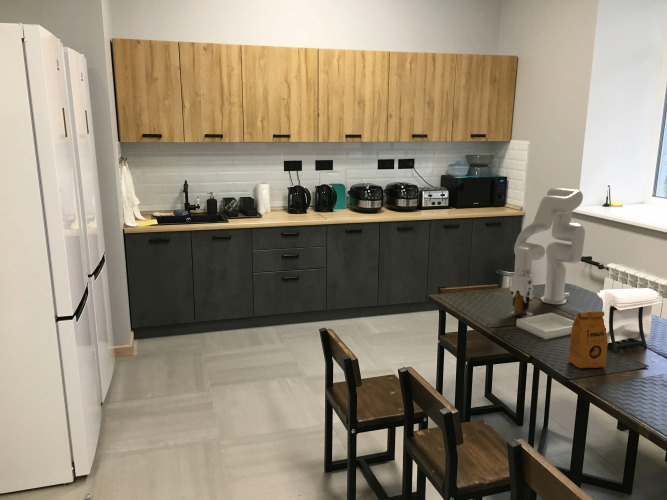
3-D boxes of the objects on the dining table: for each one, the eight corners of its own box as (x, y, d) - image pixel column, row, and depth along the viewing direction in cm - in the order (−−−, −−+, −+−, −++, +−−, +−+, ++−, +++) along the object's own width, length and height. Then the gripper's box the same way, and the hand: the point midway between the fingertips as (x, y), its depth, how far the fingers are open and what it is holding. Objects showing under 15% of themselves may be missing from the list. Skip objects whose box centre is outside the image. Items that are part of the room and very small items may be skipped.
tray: (551, 319, 273) (552, 312, 272) (582, 331, 257) (582, 324, 257) (516, 326, 264) (516, 319, 263) (545, 339, 248) (546, 331, 247)
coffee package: (608, 370, 217) (615, 315, 213) (577, 371, 216) (583, 316, 212) (595, 359, 227) (600, 307, 222) (565, 360, 226) (570, 307, 221)
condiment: (518, 309, 282) (519, 286, 279) (533, 314, 276) (535, 290, 273) (509, 313, 278) (511, 289, 275) (525, 317, 272) (526, 293, 269)
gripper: (542, 275, 267) (539, 311, 271) (516, 266, 282) (514, 301, 286) (529, 277, 264) (527, 314, 268) (504, 268, 279) (502, 303, 283)
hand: (520, 307), depth 277 cm, fingers closed on condiment, 6 cm apart
